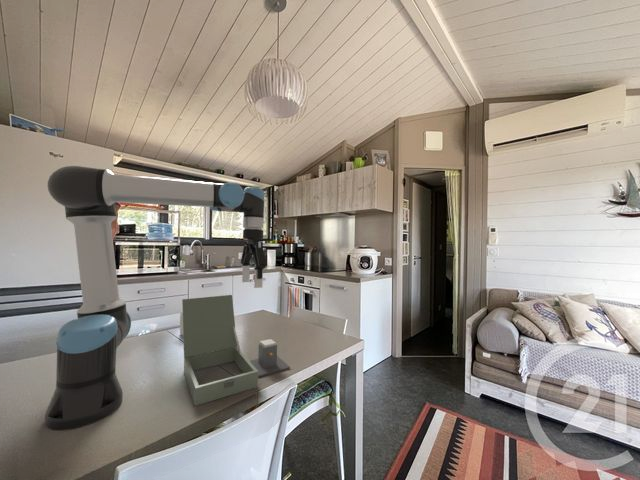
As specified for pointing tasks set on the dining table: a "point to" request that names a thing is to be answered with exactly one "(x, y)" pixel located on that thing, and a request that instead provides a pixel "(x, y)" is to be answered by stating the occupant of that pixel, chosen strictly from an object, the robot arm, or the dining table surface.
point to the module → (267, 353)
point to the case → (213, 347)
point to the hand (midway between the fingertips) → (251, 284)
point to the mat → (270, 370)
